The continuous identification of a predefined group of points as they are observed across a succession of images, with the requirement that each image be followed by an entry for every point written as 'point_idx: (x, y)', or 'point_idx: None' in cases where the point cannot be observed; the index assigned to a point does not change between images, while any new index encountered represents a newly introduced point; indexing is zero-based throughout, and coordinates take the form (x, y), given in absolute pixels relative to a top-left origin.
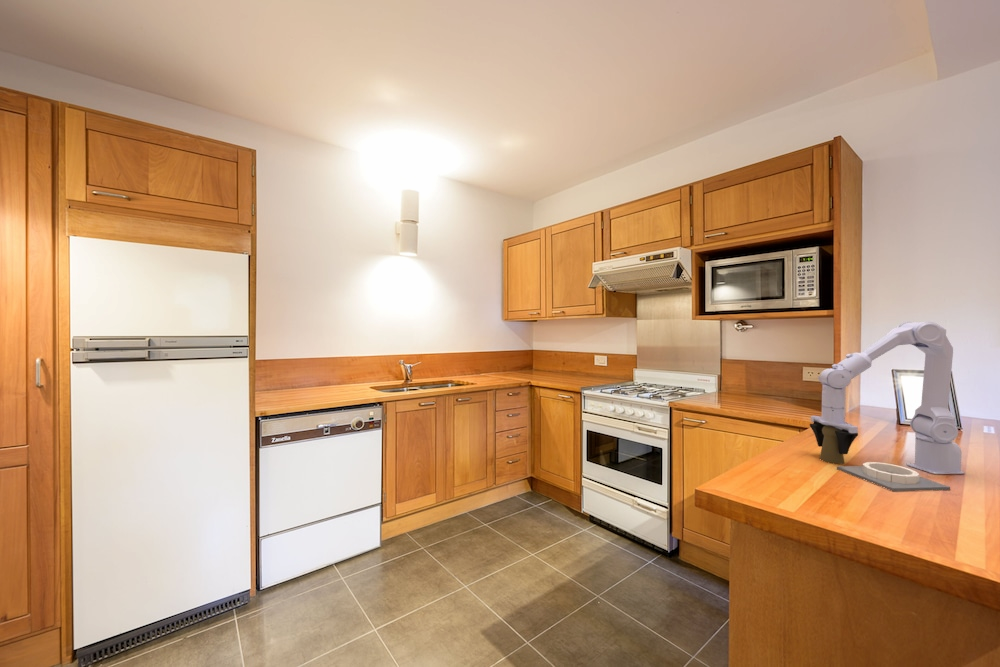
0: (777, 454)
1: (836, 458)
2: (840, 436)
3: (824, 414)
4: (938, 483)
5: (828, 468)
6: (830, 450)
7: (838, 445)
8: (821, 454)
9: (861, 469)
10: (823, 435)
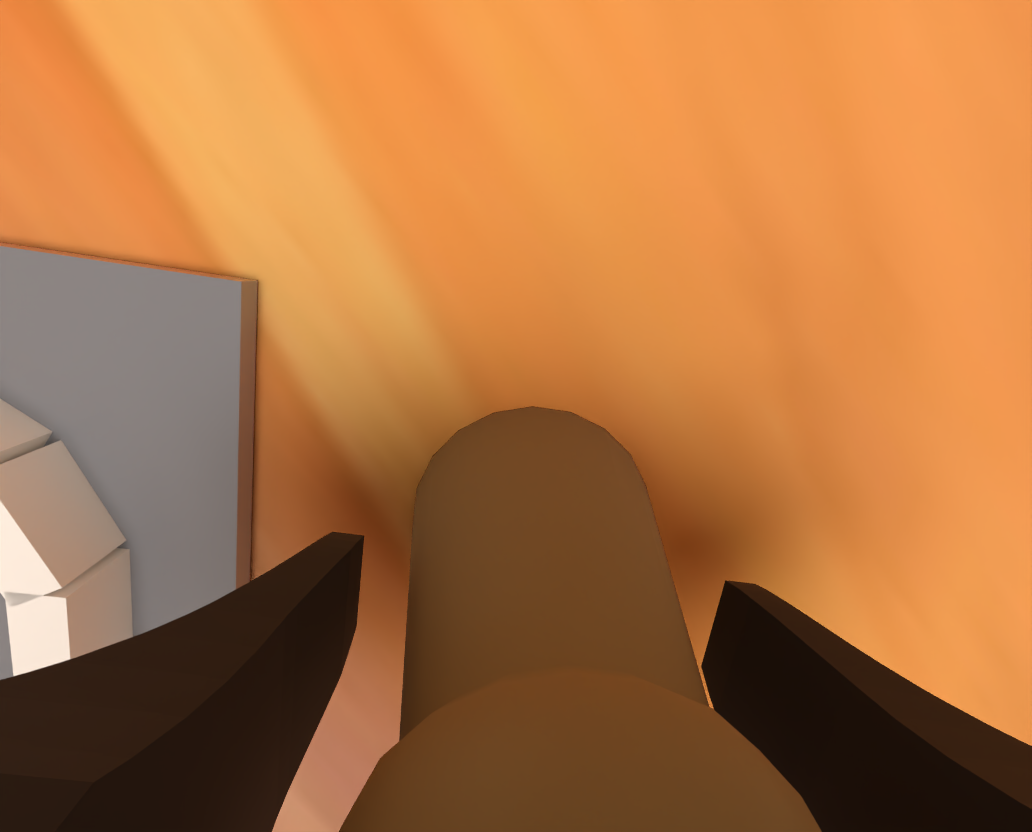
0: (959, 7)
1: (423, 499)
2: (4, 704)
3: None
4: None
5: (294, 193)
6: (475, 506)
7: (307, 586)
8: (599, 453)
9: (112, 479)
10: (813, 808)
